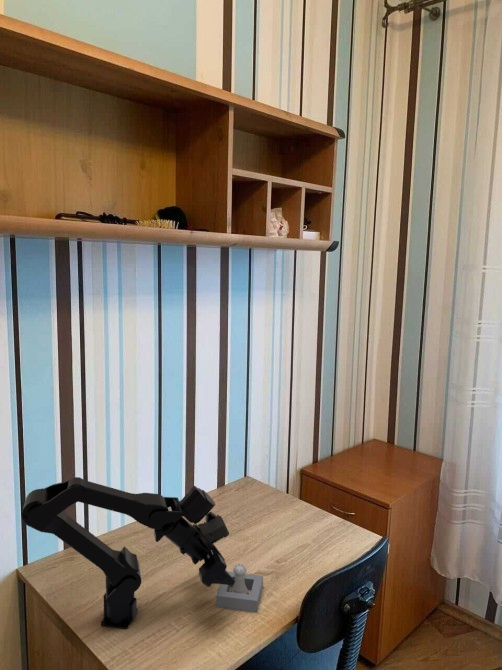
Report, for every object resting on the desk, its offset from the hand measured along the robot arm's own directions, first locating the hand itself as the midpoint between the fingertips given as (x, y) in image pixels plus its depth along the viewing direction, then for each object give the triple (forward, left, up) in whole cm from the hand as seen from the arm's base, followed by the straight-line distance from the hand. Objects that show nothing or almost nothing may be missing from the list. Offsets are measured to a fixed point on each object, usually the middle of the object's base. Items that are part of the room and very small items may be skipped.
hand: (228, 572), depth 126 cm
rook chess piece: (+3, +1, -7) cm, 8 cm away
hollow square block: (+3, +1, -7) cm, 8 cm away
